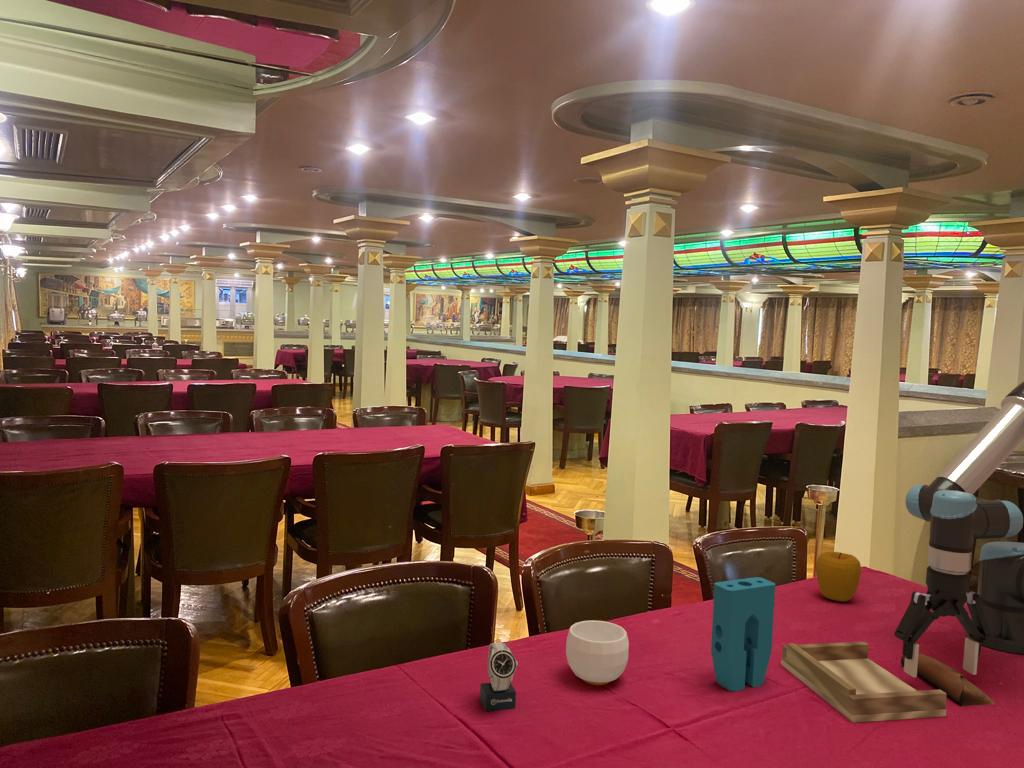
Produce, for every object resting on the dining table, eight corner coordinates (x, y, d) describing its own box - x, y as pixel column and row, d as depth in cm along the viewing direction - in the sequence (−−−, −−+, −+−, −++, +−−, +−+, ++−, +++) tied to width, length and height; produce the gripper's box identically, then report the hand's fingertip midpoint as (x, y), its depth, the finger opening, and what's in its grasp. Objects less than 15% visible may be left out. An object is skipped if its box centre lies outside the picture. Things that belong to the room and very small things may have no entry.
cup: (639, 679, 148) (642, 631, 148) (602, 700, 139) (605, 649, 139) (589, 659, 157) (591, 614, 156) (552, 678, 148) (553, 630, 147)
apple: (819, 604, 195) (822, 556, 194) (810, 591, 206) (812, 544, 205) (864, 608, 193) (867, 559, 193) (852, 594, 204) (855, 548, 203)
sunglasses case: (1000, 704, 143) (986, 675, 142) (970, 724, 142) (955, 695, 141) (936, 663, 160) (923, 637, 160) (908, 680, 160) (895, 654, 159)
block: (754, 672, 153) (759, 576, 152) (772, 683, 149) (777, 584, 147) (707, 682, 148) (712, 583, 147) (724, 693, 144) (729, 591, 142)
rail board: (862, 660, 161) (863, 636, 161) (945, 716, 137) (947, 688, 137) (781, 664, 158) (782, 640, 157) (852, 722, 134) (854, 694, 134)
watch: (488, 717, 132) (490, 655, 131) (477, 695, 139) (479, 637, 139) (518, 713, 133) (520, 653, 133) (506, 692, 141) (508, 635, 140)
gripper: (987, 562, 155) (979, 662, 157) (880, 564, 151) (872, 666, 152) (1018, 574, 148) (1009, 679, 149) (906, 575, 143) (897, 683, 145)
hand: (940, 673), depth 151 cm, fingers open, 13 cm apart
